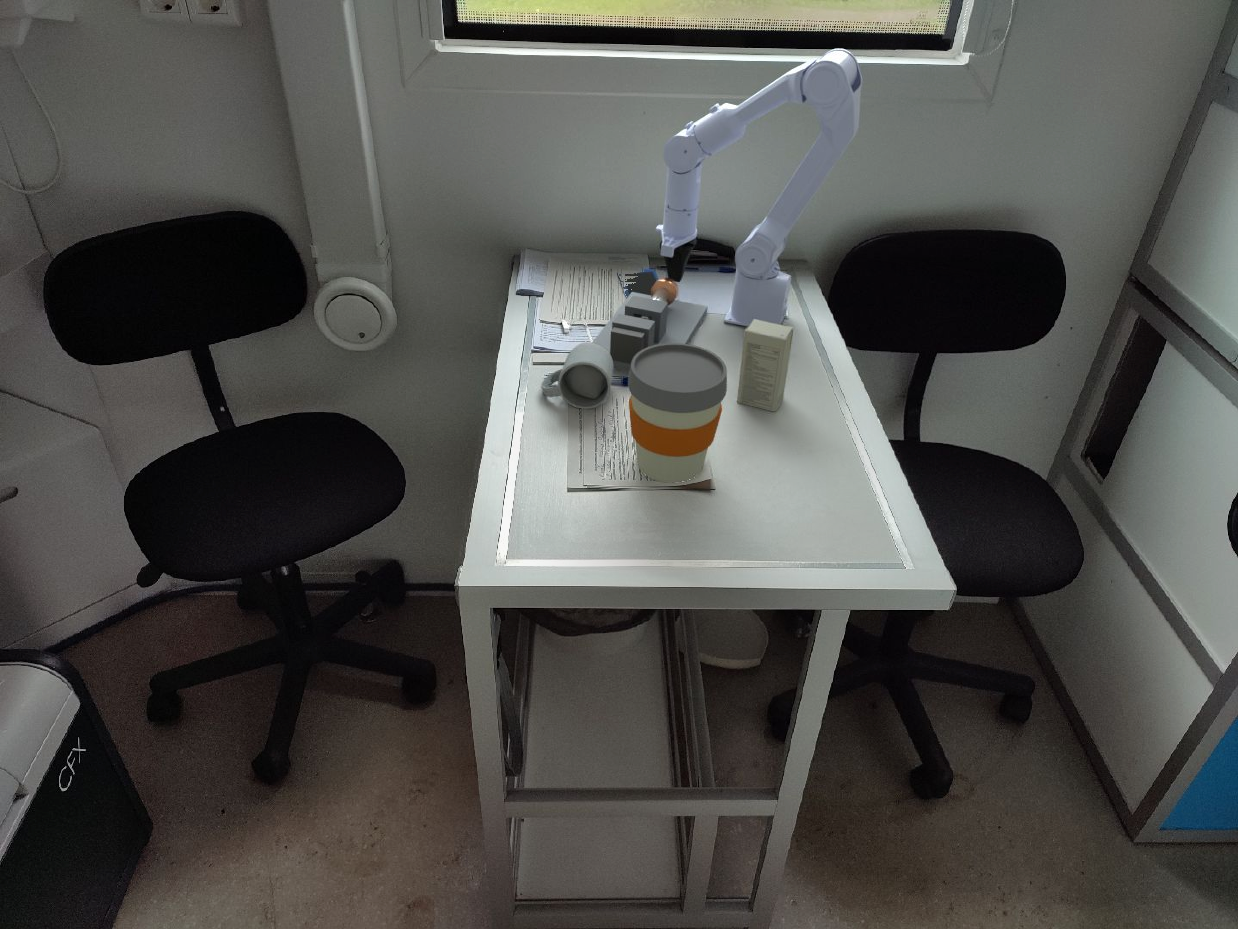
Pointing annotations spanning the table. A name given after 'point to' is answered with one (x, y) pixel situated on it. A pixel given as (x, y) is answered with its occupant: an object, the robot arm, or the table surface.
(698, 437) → the reusable coffee cup
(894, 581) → the table surface
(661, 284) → the copper and silver rod
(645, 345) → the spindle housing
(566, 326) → the picture light
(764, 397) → the skincare box
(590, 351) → the ceramic mug
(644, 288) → the cell phone
